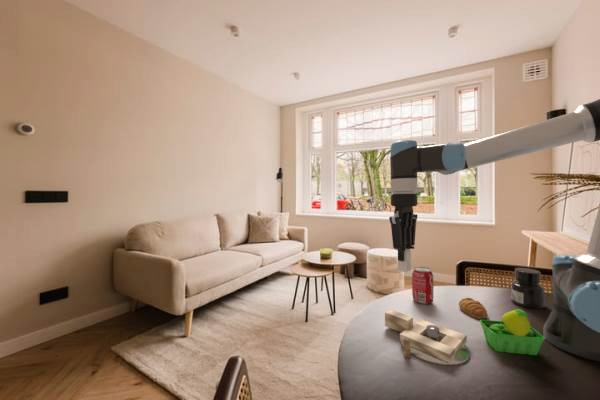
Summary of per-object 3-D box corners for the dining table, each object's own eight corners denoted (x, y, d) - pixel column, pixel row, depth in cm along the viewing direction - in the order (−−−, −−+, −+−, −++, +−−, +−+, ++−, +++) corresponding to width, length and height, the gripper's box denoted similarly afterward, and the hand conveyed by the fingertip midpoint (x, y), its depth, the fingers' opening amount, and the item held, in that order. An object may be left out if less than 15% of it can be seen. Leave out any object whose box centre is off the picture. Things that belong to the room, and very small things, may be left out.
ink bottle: (509, 296, 99) (509, 265, 98) (541, 301, 94) (541, 268, 94) (513, 306, 91) (513, 272, 90) (547, 312, 86) (547, 276, 85)
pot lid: (478, 346, 68) (478, 328, 67) (455, 375, 57) (455, 354, 57) (416, 323, 80) (416, 309, 80) (388, 344, 69) (388, 327, 69)
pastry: (494, 320, 81) (494, 308, 81) (471, 320, 82) (471, 308, 82) (476, 307, 91) (476, 296, 90) (456, 307, 91) (456, 296, 91)
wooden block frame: (466, 342, 68) (466, 327, 68) (449, 363, 60) (449, 345, 60) (397, 317, 82) (397, 304, 82) (376, 331, 74) (376, 317, 74)
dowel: (411, 356, 64) (411, 340, 64) (408, 358, 63) (408, 342, 63) (405, 353, 65) (405, 337, 65) (402, 355, 64) (402, 339, 64)
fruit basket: (526, 341, 70) (526, 299, 69) (550, 362, 61) (551, 314, 61) (478, 337, 72) (478, 296, 72) (495, 357, 63) (495, 311, 63)
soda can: (429, 297, 99) (428, 266, 99) (436, 305, 92) (436, 272, 92) (409, 297, 100) (409, 266, 100) (416, 305, 93) (415, 271, 93)
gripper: (403, 193, 86) (404, 263, 87) (379, 193, 77) (380, 272, 78) (426, 192, 81) (427, 268, 81) (404, 193, 71) (404, 278, 72)
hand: (404, 270), depth 79 cm, fingers closed
